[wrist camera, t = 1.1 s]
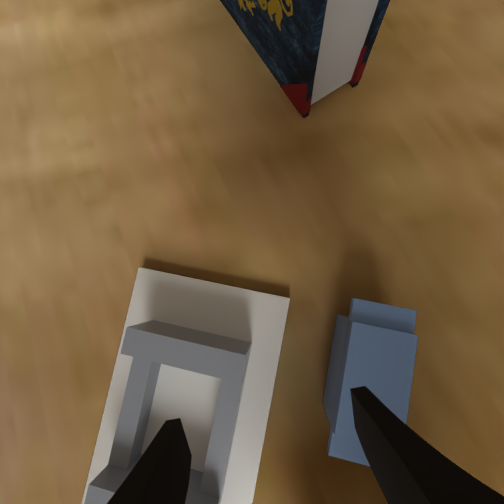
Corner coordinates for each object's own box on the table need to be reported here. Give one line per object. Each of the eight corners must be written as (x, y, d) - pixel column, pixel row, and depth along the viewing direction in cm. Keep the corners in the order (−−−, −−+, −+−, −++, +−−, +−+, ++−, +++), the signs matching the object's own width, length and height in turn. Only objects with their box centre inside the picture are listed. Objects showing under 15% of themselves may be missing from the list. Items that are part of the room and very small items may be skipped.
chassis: (289, 297, 23) (292, 301, 18) (241, 558, 21) (229, 642, 16) (144, 267, 25) (110, 263, 20) (86, 508, 23) (33, 570, 18)
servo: (390, 305, 22) (428, 312, 17) (371, 435, 21) (404, 489, 16) (339, 295, 23) (359, 298, 17) (318, 421, 22) (332, 469, 16)
